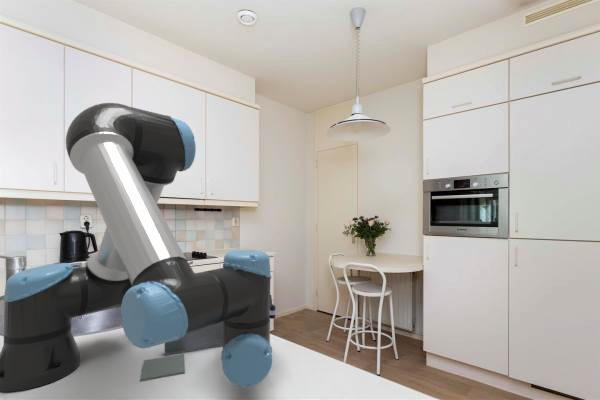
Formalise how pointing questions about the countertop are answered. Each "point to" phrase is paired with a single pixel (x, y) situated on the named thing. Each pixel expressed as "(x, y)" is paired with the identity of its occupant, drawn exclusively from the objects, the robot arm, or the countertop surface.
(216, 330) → the label board
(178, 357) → the rubber mat
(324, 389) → the countertop surface
